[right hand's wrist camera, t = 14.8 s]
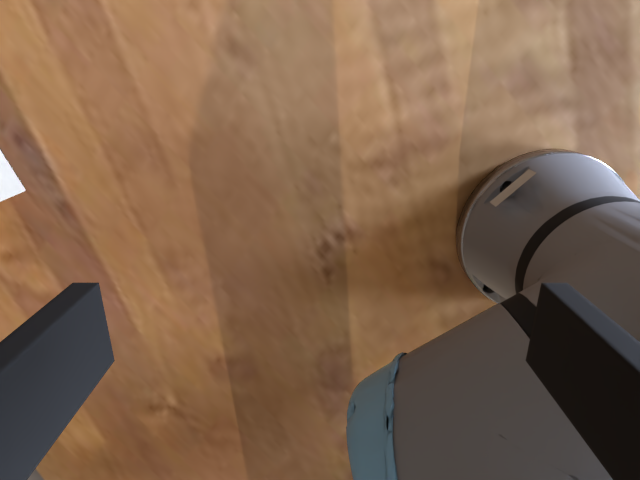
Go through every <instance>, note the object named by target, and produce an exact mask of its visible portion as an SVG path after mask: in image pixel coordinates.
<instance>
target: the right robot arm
mask: <svg viewBox="0 0 640 480" xmlns="http://www.w3.org/2000/svg"><path fill="white" fill-rule="evenodd" d="M456 246H457V253H458V257H459V260H460V263H461V266H462V268H463V269H464V271H465V273H466V274H467V276H468V277H469V279H470V280H471V281H472V283H473V284H474V285H475V286H476V288H477V289H478V290H479V291H480V292H481V293H482V294H484V295H485V296H486V297H488V298H489V299H491V300H492V301H494V302H496V303H498V304H496V305H494V306H493V307H491V308H489V309H487V310H485V311H484V312H482V313H480V314H478V315H476V316H475V317H473V318H471V319H469V320H467V321H466V322H464V323H462V324H460V325H458V326H456V327H455V328H453V329H451V330H449V331H447V332H446V333H444V334H442V335H440V336H438V337H437V338H435V339H433V340H431V341H429V342H428V343H426V344H424V345H422V346H420V347H419V348H417V349H415V350H413V351H411V352H410V353H408V354H407V353H403V352H402V353H400V354H398V355H397V356H396V357H395V358H394V359H393V361H392V362H391V363H389V364H387V365H386V366H384V367H382V368H381V369H379V370H378V371H376V372H374V373H373V374H371V375H370V376H368V377H366V378H365V379H364V380H362V381H361V382H360V383H359V384H358V385H357V387H356V388H355V390H354V392H353V394H352V396H351V398H350V401H349V406H348V411H347V427H346V430H347V446H348V453H349V460H350V465H351V470H352V475H353V480H640V200H639V199H638V198H637V197H636V196H635V194H634V193H633V192H632V191H631V190H630V189H629V188H628V187H627V186H626V185H625V183H624V182H623V180H622V179H621V178H620V177H619V175H618V174H617V173H616V172H615V171H613V170H612V169H611V168H610V167H609V166H607V165H606V164H605V163H603V162H601V161H599V160H597V159H595V158H592V157H590V156H587V155H583V154H580V153H577V152H573V151H569V150H561V149H546V150H539V151H534V152H530V153H527V154H524V155H521V156H518V157H516V158H514V159H511V160H510V161H508V162H506V163H504V164H503V165H501V166H499V167H498V168H496V169H495V170H494V171H493V172H491V173H490V174H489V175H488V176H487V177H486V178H485V179H484V180H483V181H482V182H481V183H480V184H479V185H478V186H477V187H476V189H475V190H474V191H473V192H472V194H471V195H470V197H469V199H468V200H467V202H466V204H465V206H464V208H463V210H462V213H461V215H460V219H459V222H458V227H457V235H456ZM113 362H114V356H113V351H112V346H111V341H110V336H109V331H108V326H107V321H106V317H105V312H104V307H103V302H102V297H101V292H100V287H99V283H72V284H71V285H70V286H68V287H67V288H66V289H65V290H63V291H62V292H61V293H60V294H59V295H57V296H56V297H55V298H54V299H52V300H51V301H50V302H49V303H48V304H46V305H45V306H44V307H43V308H41V309H40V310H39V311H38V312H37V313H35V314H34V315H33V316H32V317H30V318H29V319H28V320H27V321H26V322H24V323H23V324H22V325H21V326H19V327H18V328H17V329H16V330H15V331H13V332H12V333H11V334H10V335H8V336H7V337H6V338H5V339H4V340H2V341H1V342H0V480H27V479H28V478H29V476H30V475H31V474H32V472H33V471H34V470H35V468H36V467H37V465H38V464H39V463H40V461H41V460H42V459H43V457H44V456H45V455H46V453H47V452H48V450H49V449H50V448H51V446H52V445H53V444H54V442H55V441H56V440H57V438H58V437H59V435H60V434H61V433H62V431H63V430H64V429H65V427H66V426H67V425H68V423H69V422H70V421H71V419H72V418H73V416H74V415H75V414H76V412H77V411H78V410H79V408H80V407H81V406H82V404H83V403H84V401H85V400H86V399H87V397H88V396H89V395H90V393H91V392H92V391H93V389H94V388H95V386H96V385H97V384H98V382H99V381H100V380H101V378H102V377H103V376H104V374H105V373H106V371H107V370H108V369H109V367H110V366H111V365H112V363H113Z"/></svg>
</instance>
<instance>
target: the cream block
mask: <svg viewBox="0 0 640 480" xmlns="http://www.w3.org/2000/svg"><path fill="white" fill-rule="evenodd" d="M24 191H26V190H25V188H24V187H23V185H22V184H21V182H20V180H19V179H18V177H17V176H16V174H15V173H14V171H13V169H12V168H11V166H10V165H9V163H8V161H7V160H6V158H5V157H4V155H3V154H2V152H1V150H0V202H1V201H3V200H5V199H8V198H10V197H13V196H15V195H17V194H20V193H22V192H24Z"/></svg>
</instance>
